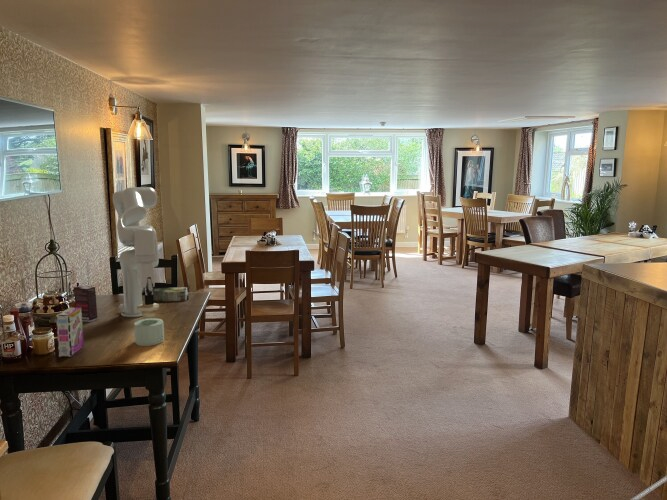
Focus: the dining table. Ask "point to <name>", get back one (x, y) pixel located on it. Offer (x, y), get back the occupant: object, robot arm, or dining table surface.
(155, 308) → the stopper
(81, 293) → the supplement box
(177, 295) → the juice carton
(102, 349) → the dining table surface
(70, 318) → the candy bar box
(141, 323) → the canister
